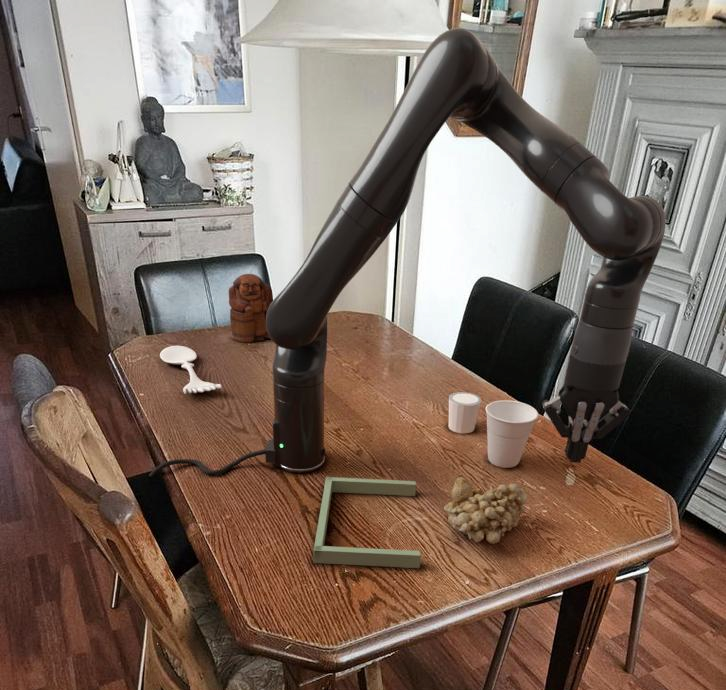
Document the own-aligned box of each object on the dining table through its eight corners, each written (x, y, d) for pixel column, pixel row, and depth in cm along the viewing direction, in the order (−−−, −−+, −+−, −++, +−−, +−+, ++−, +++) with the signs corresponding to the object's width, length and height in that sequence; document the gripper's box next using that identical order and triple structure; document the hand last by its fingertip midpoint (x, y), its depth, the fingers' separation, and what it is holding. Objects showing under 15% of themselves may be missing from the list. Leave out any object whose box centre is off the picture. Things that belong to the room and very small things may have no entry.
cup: (518, 479, 119) (528, 427, 114) (470, 464, 124) (477, 413, 118) (535, 458, 127) (545, 408, 121) (489, 444, 131) (497, 395, 125)
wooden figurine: (236, 344, 176) (231, 279, 167) (230, 337, 181) (225, 273, 172) (276, 339, 181) (274, 275, 171) (270, 332, 186) (267, 270, 176)
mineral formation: (528, 518, 108) (510, 564, 96) (453, 510, 114) (426, 551, 101) (529, 476, 105) (510, 517, 93) (452, 469, 110) (424, 507, 98)
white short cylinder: (476, 436, 134) (480, 406, 130) (444, 432, 135) (447, 402, 131) (477, 422, 139) (482, 393, 136) (447, 419, 140) (450, 390, 137)
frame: (313, 563, 96) (313, 550, 95) (325, 488, 114) (326, 476, 113) (419, 568, 96) (420, 555, 95) (414, 492, 114) (416, 481, 113)
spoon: (185, 404, 142) (183, 390, 141) (157, 356, 166) (155, 344, 165) (224, 398, 146) (222, 384, 144) (191, 352, 170) (190, 340, 168)
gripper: (637, 345, 91) (609, 450, 100) (545, 342, 91) (526, 446, 101) (655, 364, 85) (624, 474, 94) (557, 360, 85) (535, 470, 94)
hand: (573, 460), depth 97 cm, fingers closed
